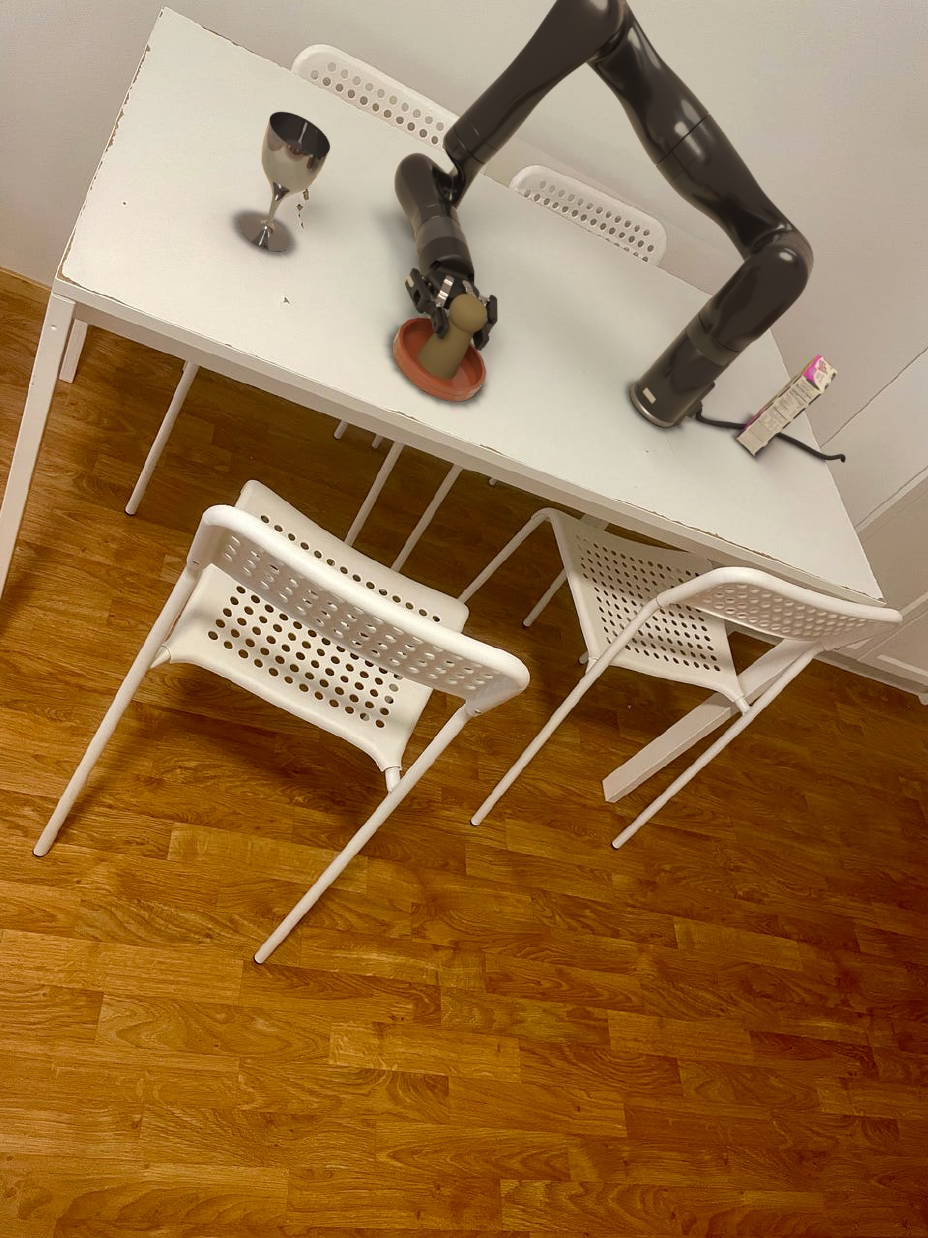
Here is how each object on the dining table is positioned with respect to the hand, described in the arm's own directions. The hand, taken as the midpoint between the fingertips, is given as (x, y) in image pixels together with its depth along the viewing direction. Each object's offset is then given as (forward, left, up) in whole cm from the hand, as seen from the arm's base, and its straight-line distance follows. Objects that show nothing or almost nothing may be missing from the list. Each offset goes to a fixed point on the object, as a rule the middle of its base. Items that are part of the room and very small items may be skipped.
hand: (463, 339), depth 114 cm
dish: (0, -3, -7) cm, 8 cm away
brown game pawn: (0, -3, -7) cm, 8 cm away
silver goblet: (+24, -20, -7) cm, 32 cm away
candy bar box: (-66, -8, -7) cm, 67 cm away
